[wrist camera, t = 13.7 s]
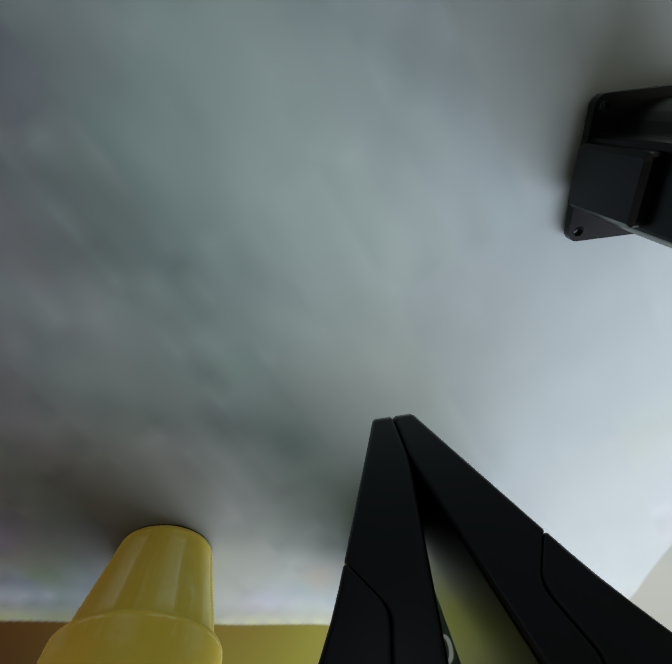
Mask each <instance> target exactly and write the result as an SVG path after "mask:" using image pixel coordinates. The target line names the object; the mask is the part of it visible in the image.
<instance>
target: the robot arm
mask: <svg viewBox="0 0 672 664" xmlns="http://www.w3.org/2000/svg"><path fill="white" fill-rule="evenodd" d="M603 101H604V102H605V106H604V108H603V110H602V111H600V104H601V103H602V102H603ZM577 227H579V229H578V231H577V232H576V233H574V230H575V229H576V228H577ZM564 234H565V236H566V237H567V238H568V239H570V240H572V241H581V240H589V239H596V238H604V237H612V236H620V235H627V234H636V235H639V236H641V237H644V238H647V239H649V240H652V241H654V242H657V243H659V244H662V245H665V246H667V247H670V248H672V85H666V86H657V87H648V88H639V89H631V90H622V91H613V92H604V93H600V94H597V95H596V96H595V97H593V99H592V100H591V101H590V104H589V106H588V111H587V116H586V121H585V126H584V131H583V137H582V142H581V147H580V149H579V151H578V156H577V161H576V166H575V171H574V176H573V182H572V187H571V192H570V197H569V209H568V214H567V219H566V224H565V229H564ZM435 592H436V594H435ZM436 595H437V598H438V601H439V603H440V606H441V609H442V612H443V615H444V617H445V620H446V623H447V626H448V628H449V631H450V634H451V637H452V640H453V642H454V645H455V648H456V651H457V653H458V656H459V659H460V662H461V664H672V632H671V631H670V630H668V629H667V628H666V627H664V626H663V625H662V624H660V623H659V622H657V621H656V620H655V619H653V618H652V617H651V616H649V615H648V614H647V613H645V612H644V611H643V610H641V609H640V608H639V607H637V606H636V605H635V604H633V603H632V602H631V601H630V600H628V599H627V598H626V597H624V596H623V595H622V594H621V593H619V592H618V591H617V590H615V589H614V588H613V587H612V586H610V585H609V584H608V583H606V582H605V581H604V580H602V579H601V578H600V577H599V576H597V575H596V574H595V573H594V572H593V571H591V570H590V569H589V568H588V567H587V566H585V565H584V564H583V563H582V562H581V561H579V560H578V559H577V558H576V557H575V556H574V555H572V554H571V553H570V552H569V551H568V550H566V549H565V548H564V547H563V546H562V545H561V544H560V543H558V542H557V541H556V540H555V539H554V538H553V537H552V536H550V535H549V534H548V533H544V530H543V529H542V528H541V527H540V526H539V525H538V524H537V523H535V522H534V521H533V520H532V519H531V518H530V517H529V516H527V515H526V514H525V513H524V512H523V511H522V510H521V509H520V508H518V507H517V506H516V505H515V504H514V503H513V502H512V501H510V500H509V499H508V498H507V497H506V496H505V495H504V494H502V493H501V492H500V491H499V490H498V489H497V488H496V487H494V486H493V485H492V484H491V483H490V482H489V481H488V480H487V479H485V478H484V477H483V476H482V475H481V474H480V473H479V472H477V471H476V470H475V469H474V468H473V467H472V466H471V465H469V464H468V463H467V462H466V461H465V460H464V459H463V458H461V457H460V456H459V455H458V454H457V453H456V452H455V451H454V450H452V449H451V448H450V447H449V446H448V445H447V444H446V443H444V442H443V441H442V440H441V439H440V438H439V437H438V436H436V435H435V434H434V433H433V432H432V431H431V430H430V429H428V428H427V427H426V426H425V425H424V424H423V423H422V422H421V421H419V420H418V419H417V418H416V417H415V416H414V415H411V414H407V415H400V416H395V417H394V418H393V419H392V418H391V417H386V418H380V419H375V420H374V421H373V423H372V427H371V432H370V437H369V442H368V447H367V452H366V457H365V462H364V467H363V472H362V477H361V482H360V487H359V492H358V497H357V502H356V507H355V512H354V517H353V522H352V527H351V532H350V537H349V542H348V547H347V552H346V557H345V565H344V566H343V570H342V575H341V580H340V585H339V590H338V594H337V598H336V603H335V607H334V611H333V615H332V620H331V623H330V627H329V630H328V633H327V637H326V640H325V644H324V647H323V650H322V654H321V657H320V660H319V663H318V664H449V662H448V657H447V651H446V646H445V641H444V636H443V631H442V625H441V620H440V615H439V610H438V604H437V599H436Z"/></svg>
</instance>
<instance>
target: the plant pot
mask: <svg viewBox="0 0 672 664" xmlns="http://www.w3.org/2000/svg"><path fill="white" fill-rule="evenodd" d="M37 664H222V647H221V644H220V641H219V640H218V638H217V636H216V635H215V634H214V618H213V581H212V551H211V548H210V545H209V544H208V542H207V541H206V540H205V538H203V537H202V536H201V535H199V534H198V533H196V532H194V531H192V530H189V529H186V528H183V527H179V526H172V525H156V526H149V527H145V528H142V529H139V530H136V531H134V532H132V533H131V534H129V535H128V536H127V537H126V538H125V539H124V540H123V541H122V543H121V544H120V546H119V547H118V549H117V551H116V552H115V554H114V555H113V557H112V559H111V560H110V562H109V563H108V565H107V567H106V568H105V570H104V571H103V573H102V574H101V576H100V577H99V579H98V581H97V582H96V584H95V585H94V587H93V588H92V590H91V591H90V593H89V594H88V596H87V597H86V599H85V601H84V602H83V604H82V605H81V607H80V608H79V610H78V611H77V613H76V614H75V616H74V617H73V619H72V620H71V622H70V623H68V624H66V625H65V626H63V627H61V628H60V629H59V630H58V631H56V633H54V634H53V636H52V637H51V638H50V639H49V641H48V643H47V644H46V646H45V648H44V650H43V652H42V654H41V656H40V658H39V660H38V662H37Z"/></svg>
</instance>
